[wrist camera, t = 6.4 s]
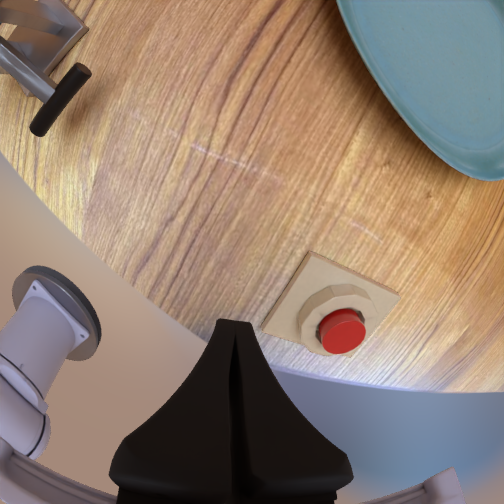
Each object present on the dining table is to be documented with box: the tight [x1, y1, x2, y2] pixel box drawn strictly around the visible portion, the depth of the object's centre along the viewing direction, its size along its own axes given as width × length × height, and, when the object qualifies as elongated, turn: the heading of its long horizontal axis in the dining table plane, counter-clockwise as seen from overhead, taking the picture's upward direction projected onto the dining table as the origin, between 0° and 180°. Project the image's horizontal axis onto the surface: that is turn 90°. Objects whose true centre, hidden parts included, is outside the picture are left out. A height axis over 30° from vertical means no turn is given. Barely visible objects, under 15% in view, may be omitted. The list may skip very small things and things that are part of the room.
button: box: [318, 309, 366, 354], centre depth 20 cm, size 4×4×2 cm
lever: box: [0, 22, 92, 137], centre depth 7 cm, size 12×5×2 cm, turn 37°
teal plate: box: [336, 0, 504, 181], centre depth 10 cm, size 24×24×3 cm
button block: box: [261, 251, 401, 357], centre depth 22 cm, size 10×8×2 cm
